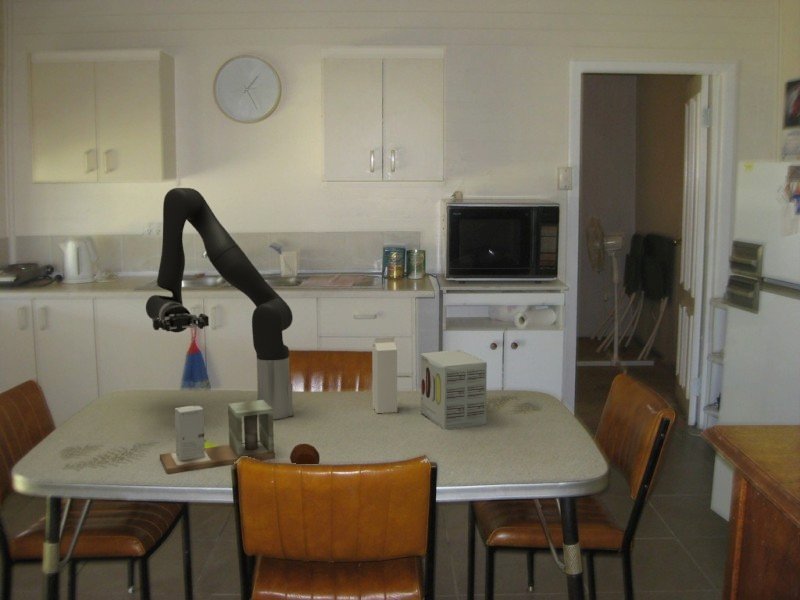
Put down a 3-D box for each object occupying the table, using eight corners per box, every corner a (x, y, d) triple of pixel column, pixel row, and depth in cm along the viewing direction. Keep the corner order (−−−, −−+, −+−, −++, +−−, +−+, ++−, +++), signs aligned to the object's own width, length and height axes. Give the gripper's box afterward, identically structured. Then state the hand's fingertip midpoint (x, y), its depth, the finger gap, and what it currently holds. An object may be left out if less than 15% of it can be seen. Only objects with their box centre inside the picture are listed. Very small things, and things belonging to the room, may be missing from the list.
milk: (397, 412, 242) (397, 338, 238) (377, 414, 240) (377, 340, 237) (391, 406, 247) (391, 334, 244) (372, 408, 246) (372, 335, 242)
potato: (289, 477, 190) (288, 450, 189) (290, 463, 199) (290, 437, 198) (319, 476, 191) (319, 449, 190) (319, 462, 200) (319, 437, 199)
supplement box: (419, 413, 241) (419, 353, 238) (460, 408, 246) (460, 349, 243) (443, 430, 225) (444, 365, 222) (487, 425, 230) (488, 361, 227)
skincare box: (181, 461, 197) (178, 412, 195) (175, 456, 200) (173, 407, 199) (206, 457, 200) (204, 408, 198) (200, 451, 204) (198, 404, 202)
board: (263, 444, 213) (261, 398, 211) (275, 457, 203) (274, 409, 201) (159, 459, 202) (157, 411, 201) (167, 473, 193) (164, 423, 191)
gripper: (147, 304, 226) (156, 314, 211) (199, 301, 232) (212, 310, 217) (148, 331, 227) (157, 342, 212) (200, 327, 233) (213, 338, 218)
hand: (185, 326), depth 215 cm, fingers open, 8 cm apart
